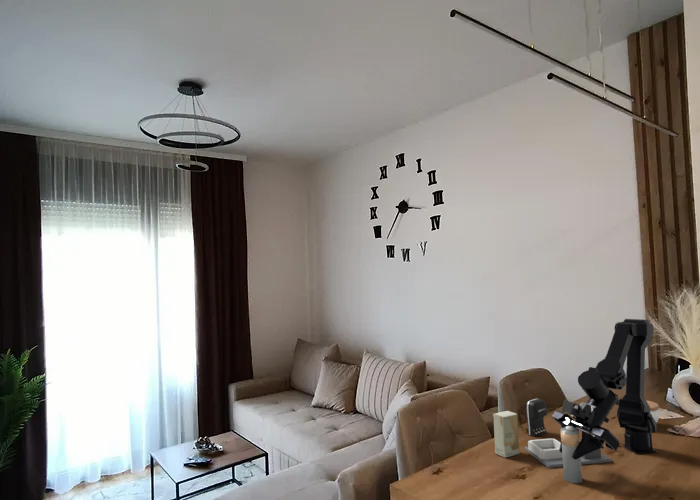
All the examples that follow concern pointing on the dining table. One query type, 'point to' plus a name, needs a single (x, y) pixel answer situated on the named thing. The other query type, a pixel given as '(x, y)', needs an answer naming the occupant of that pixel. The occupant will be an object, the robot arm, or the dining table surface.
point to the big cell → (568, 447)
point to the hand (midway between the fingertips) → (567, 455)
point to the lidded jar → (654, 410)
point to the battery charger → (536, 416)
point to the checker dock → (559, 453)
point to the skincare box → (506, 434)
